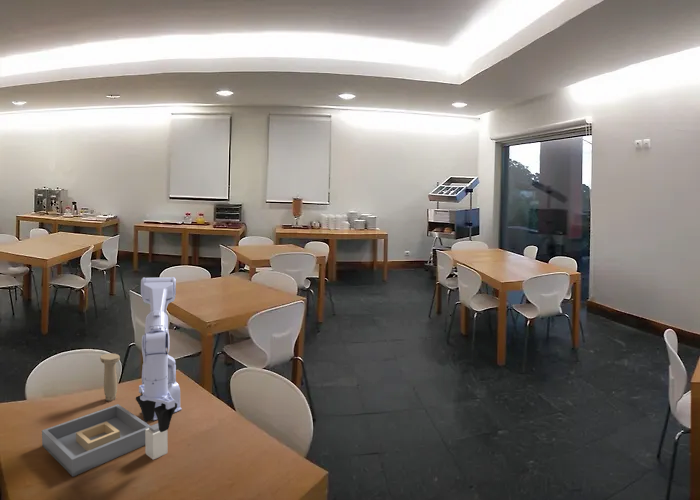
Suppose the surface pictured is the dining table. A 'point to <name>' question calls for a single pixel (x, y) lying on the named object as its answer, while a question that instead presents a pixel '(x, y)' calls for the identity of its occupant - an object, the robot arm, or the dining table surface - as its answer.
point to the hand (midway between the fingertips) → (156, 425)
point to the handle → (110, 375)
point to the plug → (156, 442)
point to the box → (94, 438)
